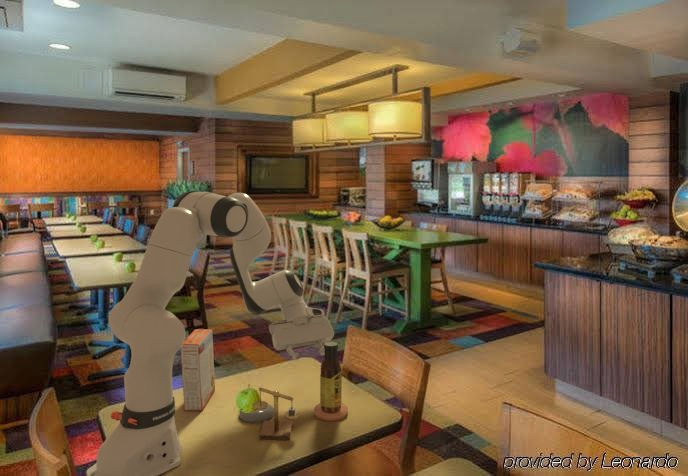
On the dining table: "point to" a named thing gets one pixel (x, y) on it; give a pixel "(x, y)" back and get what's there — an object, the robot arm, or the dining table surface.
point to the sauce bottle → (330, 380)
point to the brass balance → (276, 418)
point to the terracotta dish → (330, 416)
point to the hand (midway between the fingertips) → (310, 356)
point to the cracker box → (198, 369)
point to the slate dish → (258, 415)
